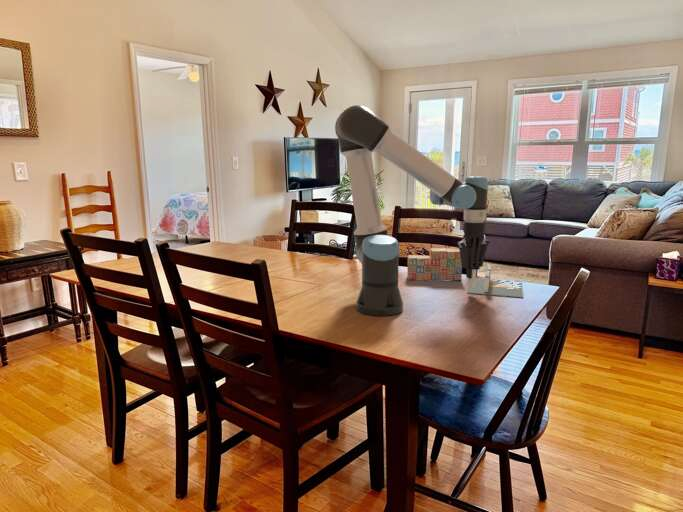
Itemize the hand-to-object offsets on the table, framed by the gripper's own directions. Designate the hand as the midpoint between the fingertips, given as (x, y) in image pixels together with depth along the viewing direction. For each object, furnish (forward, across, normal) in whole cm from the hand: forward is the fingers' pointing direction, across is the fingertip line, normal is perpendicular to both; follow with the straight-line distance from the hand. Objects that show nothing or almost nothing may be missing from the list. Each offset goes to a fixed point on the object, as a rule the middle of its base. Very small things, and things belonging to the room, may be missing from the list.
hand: (471, 286), depth 171 cm
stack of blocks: (+3, +2, +25) cm, 25 cm away
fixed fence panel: (+3, +17, +10) cm, 20 cm away
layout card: (+3, +15, +3) cm, 15 cm away
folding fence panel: (+2, +10, +2) cm, 10 cm away
